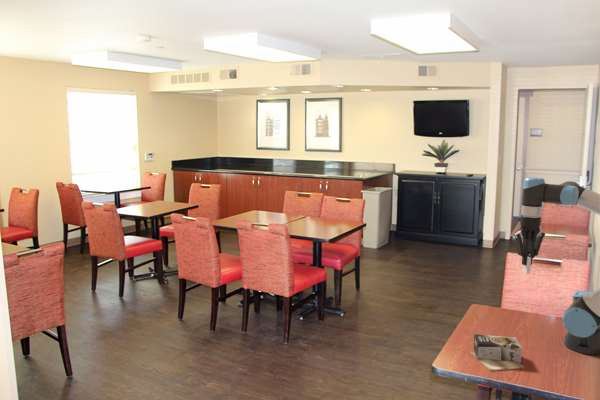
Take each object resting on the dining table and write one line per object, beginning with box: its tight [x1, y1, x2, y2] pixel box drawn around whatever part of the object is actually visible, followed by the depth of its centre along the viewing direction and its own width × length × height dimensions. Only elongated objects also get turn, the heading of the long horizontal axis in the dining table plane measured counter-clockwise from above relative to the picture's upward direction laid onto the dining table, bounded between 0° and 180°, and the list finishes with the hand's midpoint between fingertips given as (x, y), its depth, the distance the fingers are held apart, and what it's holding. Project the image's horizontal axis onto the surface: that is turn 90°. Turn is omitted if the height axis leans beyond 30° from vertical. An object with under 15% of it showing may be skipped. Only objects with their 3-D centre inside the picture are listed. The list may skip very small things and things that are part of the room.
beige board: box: [470, 351, 525, 372], centre depth 194 cm, size 14×14×1 cm
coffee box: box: [473, 334, 523, 363], centre depth 197 cm, size 9×6×16 cm
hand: (526, 272), depth 206 cm, fingers closed
